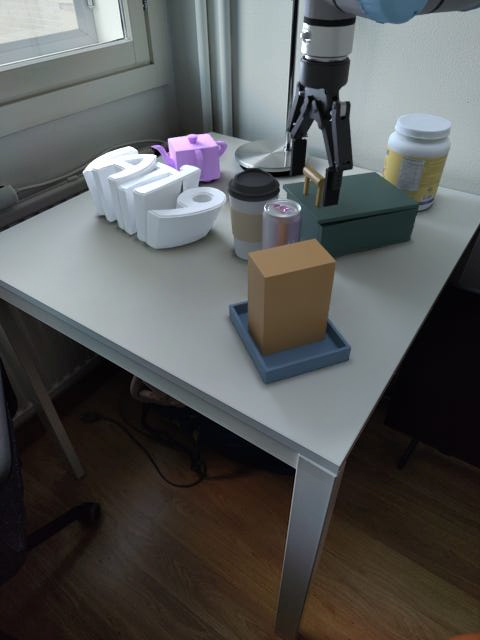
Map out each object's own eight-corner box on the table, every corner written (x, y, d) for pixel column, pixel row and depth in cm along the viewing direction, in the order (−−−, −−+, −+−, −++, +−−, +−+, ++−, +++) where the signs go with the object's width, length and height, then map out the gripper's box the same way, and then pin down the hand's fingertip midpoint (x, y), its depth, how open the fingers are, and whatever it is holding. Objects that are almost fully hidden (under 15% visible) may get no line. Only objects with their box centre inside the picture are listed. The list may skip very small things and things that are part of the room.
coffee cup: (278, 264, 84) (282, 187, 75) (228, 264, 85) (226, 187, 75) (275, 238, 91) (279, 164, 81) (230, 238, 91) (228, 164, 81)
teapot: (161, 194, 106) (155, 151, 99) (150, 170, 116) (144, 129, 109) (235, 183, 110) (234, 140, 103) (219, 161, 120) (217, 120, 113)
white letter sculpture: (78, 201, 104) (66, 154, 97) (140, 179, 112) (133, 135, 105) (170, 266, 84) (163, 214, 77) (237, 233, 93) (236, 184, 86)
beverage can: (277, 272, 83) (281, 194, 73) (302, 286, 79) (310, 207, 69) (253, 286, 80) (254, 207, 70) (279, 302, 76) (284, 221, 66)
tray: (348, 359, 66) (351, 347, 65) (265, 384, 63) (265, 372, 61) (302, 298, 77) (304, 286, 75) (229, 316, 74) (228, 304, 72)
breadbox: (318, 261, 85) (322, 227, 81) (284, 222, 96) (286, 191, 91) (410, 240, 90) (418, 207, 86) (368, 206, 101) (374, 175, 96)
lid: (317, 224, 80) (322, 191, 76) (282, 188, 90) (285, 157, 86) (418, 207, 85) (428, 175, 82) (374, 175, 96) (380, 145, 92)
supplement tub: (381, 184, 109) (396, 109, 97) (435, 192, 105) (457, 115, 94) (372, 207, 100) (388, 128, 89) (431, 217, 97) (455, 135, 86)
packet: (324, 339, 69) (336, 261, 60) (262, 356, 66) (264, 277, 57) (306, 314, 73) (315, 238, 64) (247, 330, 71) (247, 252, 61)
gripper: (271, 42, 77) (267, 166, 92) (344, 78, 60) (326, 224, 74) (311, 38, 79) (301, 160, 93) (394, 72, 62) (366, 216, 76)
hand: (312, 189), depth 84 cm, fingers open, 12 cm apart
